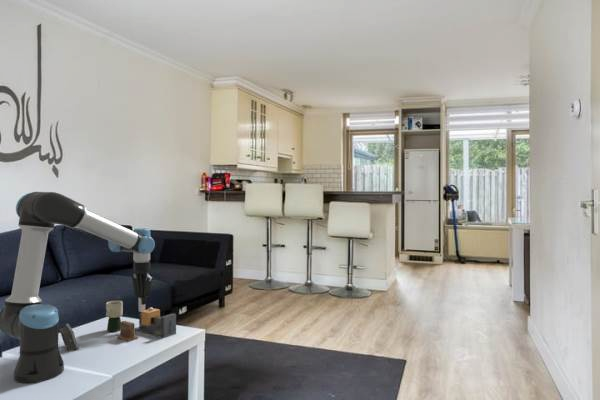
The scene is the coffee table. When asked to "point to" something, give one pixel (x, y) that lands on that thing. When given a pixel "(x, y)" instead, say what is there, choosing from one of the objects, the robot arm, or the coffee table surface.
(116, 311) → the character mug
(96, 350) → the coffee table surface
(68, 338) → the electrical switch
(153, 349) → the coffee table surface
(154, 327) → the rail
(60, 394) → the coffee table surface
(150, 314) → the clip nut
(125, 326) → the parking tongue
